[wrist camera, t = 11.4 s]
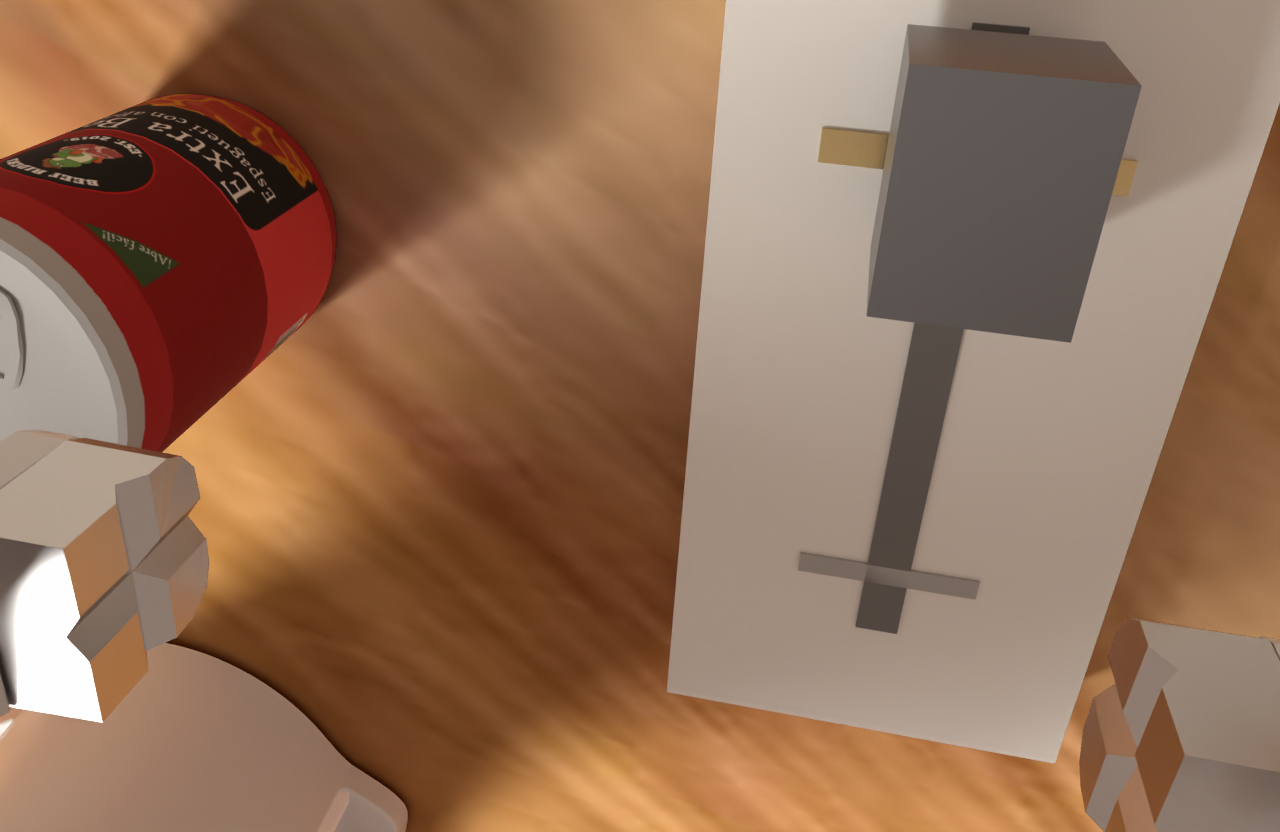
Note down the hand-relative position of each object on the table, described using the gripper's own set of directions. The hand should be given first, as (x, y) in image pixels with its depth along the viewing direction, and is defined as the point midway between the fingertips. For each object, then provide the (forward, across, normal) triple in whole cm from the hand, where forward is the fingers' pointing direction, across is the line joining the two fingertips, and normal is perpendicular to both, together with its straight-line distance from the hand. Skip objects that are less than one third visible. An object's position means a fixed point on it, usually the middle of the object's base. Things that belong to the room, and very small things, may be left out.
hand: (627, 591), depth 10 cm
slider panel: (+22, +4, -8) cm, 23 cm away
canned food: (+22, -16, -6) cm, 28 cm away
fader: (+18, +4, 0) cm, 19 cm away
